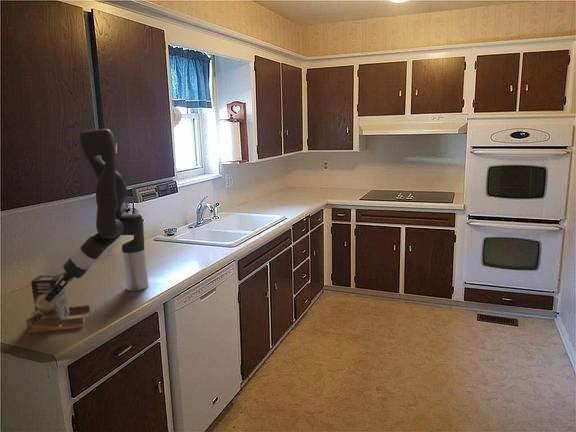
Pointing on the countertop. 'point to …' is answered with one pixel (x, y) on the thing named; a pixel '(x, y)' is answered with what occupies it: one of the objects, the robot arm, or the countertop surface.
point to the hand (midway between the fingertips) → (50, 296)
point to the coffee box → (43, 307)
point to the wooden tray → (73, 320)
